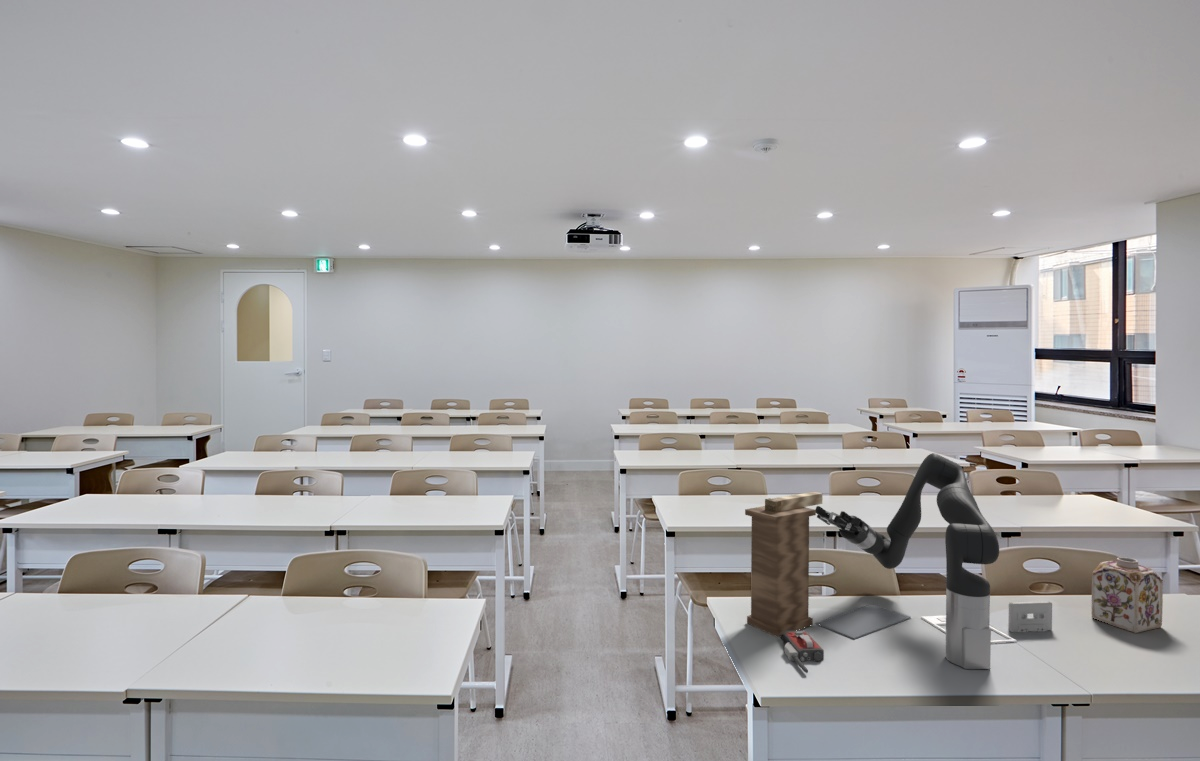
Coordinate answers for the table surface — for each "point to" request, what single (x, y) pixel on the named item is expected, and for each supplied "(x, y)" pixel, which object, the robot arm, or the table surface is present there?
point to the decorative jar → (1127, 595)
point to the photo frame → (942, 621)
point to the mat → (863, 621)
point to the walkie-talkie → (801, 648)
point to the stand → (780, 569)
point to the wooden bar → (793, 502)
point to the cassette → (1035, 623)
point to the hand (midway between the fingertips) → (828, 511)
